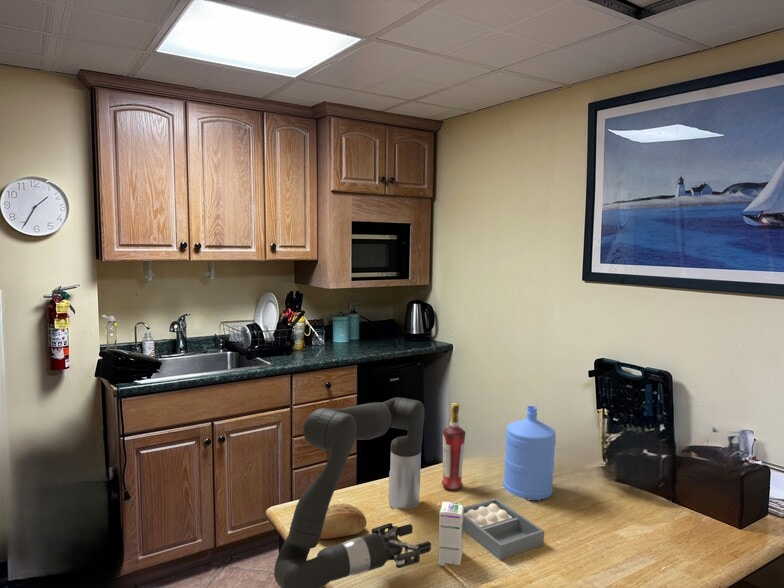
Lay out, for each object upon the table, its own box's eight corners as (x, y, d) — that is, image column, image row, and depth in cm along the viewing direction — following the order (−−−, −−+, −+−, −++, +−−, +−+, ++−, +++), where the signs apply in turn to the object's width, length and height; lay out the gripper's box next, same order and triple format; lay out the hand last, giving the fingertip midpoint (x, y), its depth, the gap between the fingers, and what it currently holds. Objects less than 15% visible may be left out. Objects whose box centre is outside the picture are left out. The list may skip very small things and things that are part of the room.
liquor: (438, 481, 185) (441, 401, 182) (460, 481, 186) (463, 400, 183) (443, 492, 178) (446, 408, 175) (465, 491, 179) (469, 408, 175)
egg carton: (461, 523, 158) (462, 508, 157) (493, 514, 163) (494, 499, 163) (479, 537, 151) (480, 521, 150) (511, 527, 156) (512, 512, 156)
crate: (453, 526, 158) (454, 509, 158) (494, 513, 166) (495, 498, 165) (499, 563, 141) (500, 545, 140) (543, 548, 148) (544, 530, 148)
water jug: (558, 502, 173) (563, 416, 170) (508, 501, 173) (512, 415, 170) (545, 479, 189) (550, 400, 185) (499, 478, 189) (503, 399, 185)
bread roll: (371, 539, 151) (371, 511, 150) (317, 548, 146) (317, 519, 145) (361, 521, 160) (362, 495, 159) (310, 529, 155) (310, 502, 154)
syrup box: (460, 568, 139) (463, 514, 137) (437, 565, 140) (439, 511, 138) (462, 555, 144) (464, 503, 142) (439, 552, 145) (441, 500, 143)
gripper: (376, 555, 122) (437, 537, 130) (349, 524, 134) (406, 509, 142) (375, 587, 123) (436, 566, 131) (348, 553, 135) (405, 536, 143)
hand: (420, 536), depth 136 cm, fingers open, 8 cm apart
